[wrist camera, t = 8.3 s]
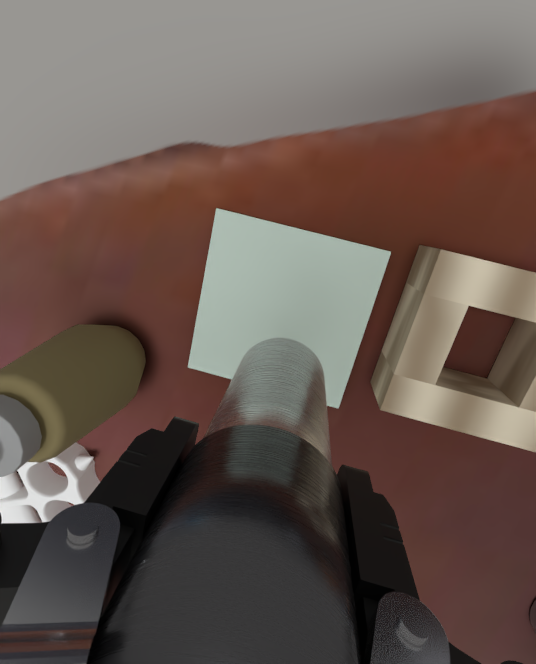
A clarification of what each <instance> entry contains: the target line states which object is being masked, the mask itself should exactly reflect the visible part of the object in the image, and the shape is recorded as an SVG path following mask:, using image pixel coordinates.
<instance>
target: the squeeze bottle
mask: <svg viewBox="0 0 536 664" xmlns="http://www.w3.org/2000/svg"><path fill="white" fill-rule="evenodd" d="M145 363H146V359H145V352H144V349H143V347H142V345H141V343H140V342H139V340H138V339H137V338H136V337H135V336H134V335H133V334H132V333H131V332H129V331H128V330H126V329H123V328H121V327H118V326H110V325H75V326H73V327H71V328H69V329H67V330H65V331H63V332H61V333H59V334H58V335H56V336H54V337H53V338H51V339H49V340H48V341H46V342H44V343H43V344H41V345H39V346H38V347H36V348H35V349H33V350H31V351H30V352H28V353H26V354H25V355H23V356H21V357H20V358H18V359H16V360H15V361H13V362H12V363H10V364H8V365H7V366H5V367H3V368H2V369H0V477H4V476H6V475H9V474H12V473H14V472H16V471H17V470H18V469H19V468H20V467H22V466H23V465H24V464H25V463H26V462H37V463H41V462H44V461H46V460H49V459H52V458H54V457H56V456H58V455H59V454H60V453H62V452H63V451H64V450H66V449H67V448H69V447H70V446H71V445H73V444H74V443H76V442H77V441H78V440H80V439H81V438H82V437H84V436H85V435H87V434H88V433H89V432H91V431H92V430H94V429H95V428H96V427H98V426H99V425H100V424H102V423H103V422H105V421H106V420H107V419H109V418H110V417H112V416H113V415H114V414H116V413H117V412H118V411H120V410H121V409H123V408H124V407H125V406H126V405H127V404H128V403H129V402H130V401H131V400H132V399H133V398H134V396H135V395H136V393H137V390H138V387H139V383H140V380H141V377H142V374H143V370H144V367H145Z"/></svg>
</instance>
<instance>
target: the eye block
mask: <svg viewBox="0 0 536 664" xmlns="http://www.w3.org/2000/svg"><path fill="white" fill-rule="evenodd" d="M468 306H473V307H476V308H480V309H484V310H488V311H492V312H496V313H500V314H504V315H508V316H512V317H516V318H515V320H514V322H513V325H512V327H511V329H510V331H509V333H508V335H507V337H506V339H505V342H504V344H503V346H502V348H501V350H500V352H499V354H498V356H497V359H496V361H495V363H494V365H493V367H492V369H491V371H490V373H489V376H488V378H483V377H479V376H475V375H472V374H468V373H464V372H460V371H456V370H453V369H449V368H445V367H443V365H444V363H445V361H446V358H447V356H448V353H449V351H450V349H451V346H452V344H453V342H454V339H455V337H456V335H457V332H458V330H459V328H460V325H461V323H462V320H463V318H464V316H465V313H466V311H467V309H468ZM370 382H371V385H372V388H373V391H374V394H375V397H376V400H377V403H378V405H379V408H380V410H382V411H386V412H389V413H393V414H397V415H400V416H404V417H408V418H411V419H415V420H419V421H422V422H426V423H430V424H433V425H437V426H441V427H444V428H448V429H452V430H455V431H459V432H463V433H467V434H470V435H474V436H478V437H481V438H485V439H489V440H492V441H496V442H500V443H503V444H507V445H511V446H514V447H518V448H522V449H525V450H529V451H533V452H536V273H534V272H530V271H526V270H522V269H518V268H514V267H510V266H506V265H502V264H498V263H494V262H490V261H486V260H482V259H478V258H474V257H470V256H466V255H462V254H458V253H454V252H450V251H446V250H442V249H437V248H432V247H427V246H423V245H419V248H418V251H417V254H416V256H415V259H414V262H413V265H412V267H411V270H410V273H409V276H408V279H407V281H406V284H405V287H404V290H403V292H402V295H401V298H400V301H399V304H398V306H397V309H396V312H395V315H394V317H393V320H392V323H391V326H390V329H389V331H388V334H387V337H386V340H385V342H384V345H383V348H382V351H381V354H380V356H379V359H378V362H377V365H376V367H375V370H374V373H373V376H372V379H371V381H370Z"/></svg>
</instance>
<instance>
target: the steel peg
mask: <svg viewBox="0 0 536 664" xmlns="http://www.w3.org/2000/svg"><path fill="white" fill-rule="evenodd" d="M89 664H362V663H361V654H360V645H359V637H358V628H357V619H356V610H355V601H354V593H353V584H352V575H351V566H350V558H349V549H348V540H347V531H346V523H345V514H344V505H343V496H342V490H341V485H340V482H339V479H338V477H337V474H336V473H335V471H334V469H333V467H332V461H331V449H330V438H329V426H328V414H327V402H326V391H325V379H324V371H323V368H322V365H321V363H320V361H319V359H318V357H317V356H316V355H315V354H314V352H313V351H312V350H311V349H309V348H308V347H307V346H305V345H304V344H302V343H300V342H298V341H295V340H292V339H288V338H271V339H267V340H263V341H261V342H259V343H257V344H256V345H254V346H253V347H251V348H250V349H249V350H248V351H247V352H246V354H245V355H244V357H243V358H242V360H241V362H240V364H239V366H238V368H237V370H236V372H235V374H234V376H233V379H232V381H231V383H230V385H229V387H228V389H227V391H226V393H225V395H224V397H223V399H222V401H221V403H220V405H219V407H218V409H217V411H216V413H215V415H214V417H213V419H212V421H211V423H210V425H209V427H208V429H207V431H206V433H205V435H204V438H203V439H202V440H201V441H200V442H198V443H197V444H196V445H195V446H194V447H193V448H192V449H191V450H190V451H189V453H188V454H187V456H186V457H185V459H184V461H183V463H182V465H181V466H180V468H179V470H178V472H177V474H176V476H175V478H174V480H173V482H172V483H171V485H170V487H169V489H168V491H167V493H166V495H165V497H164V499H163V501H162V502H161V504H160V506H159V508H158V510H157V512H156V514H155V516H154V518H153V520H152V521H151V523H150V525H149V527H148V529H147V531H146V533H145V535H144V537H143V538H142V540H141V542H140V544H139V546H138V548H137V550H136V552H135V554H134V556H133V557H132V559H131V561H130V563H129V565H128V567H127V569H126V571H125V573H124V575H123V576H122V578H121V580H120V582H119V584H118V586H117V588H116V590H115V592H114V593H113V595H112V597H111V599H110V601H109V603H108V605H107V607H106V609H105V611H104V612H103V614H102V617H101V621H100V624H99V627H98V631H97V634H96V638H95V641H94V645H93V649H92V653H91V656H90V660H89Z"/></svg>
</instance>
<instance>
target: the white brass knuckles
mask: <svg viewBox="0 0 536 664" xmlns="http://www.w3.org/2000/svg"><path fill="white" fill-rule="evenodd" d="M93 458H94V457H93V456H90V455H89V453H88V452H87V451H86V449H85V448H84V447H83V446H81V445H79V444H78V443H74V444H73V445H71V446H70V447H69V448H67V449H66V450H64V451H63V452H62V453H60V454H59V455H58V456H56V457H54V458H52V459H49V460H46V461H44V462H41V463H37V462H26V463H25V464H24V465H23V466H22V467H20V468H19V469H18V470H17V471H18V473H19V475H20V477H21V479H22V481H23V483H22V482H21V480H20V478H19V476H18V474H17V472H14V473H12V474H9V475H6V476H4V477H0V513H1V517H2V522H1V523H42V522H48V521H51V520H52V519H53V518H54V517H55V516H56V515H57V514H58V513H60V512H61V511H63V510H65V509H66V508H68V507H71V505H70V504H69V503H68V502H70V503H72V504H74V505H77V504H81V503H84V502H85V501H86V500H87V498H88V497H89V496H90V495H91V493H92V492H93V491H94V490H95V488H96V487H97V486H98V484H99V483H100V481H99V480H98V478H97V476H96V473H95V462H94V460H93ZM48 462H52V463H54V464H56V465H58V466H59V467H60V468H61V469H62V470H63V471H64V472H65V474H66V476H67V477H63V476H60V475H58V474H57V473H55V472H54V471H53V470H52V469H51V467H50V466H49V464H48ZM35 509H36V510H37V512H38V514H39V516H40V518H41V520H40V518H39V516H38V514H37V512H36V510H35Z"/></svg>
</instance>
